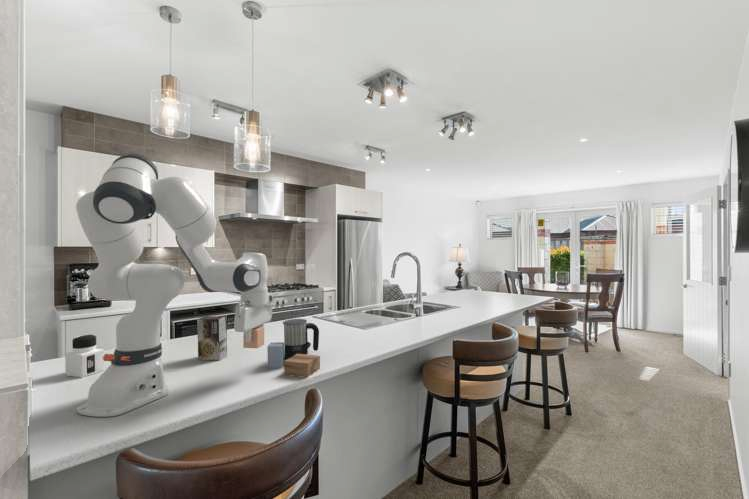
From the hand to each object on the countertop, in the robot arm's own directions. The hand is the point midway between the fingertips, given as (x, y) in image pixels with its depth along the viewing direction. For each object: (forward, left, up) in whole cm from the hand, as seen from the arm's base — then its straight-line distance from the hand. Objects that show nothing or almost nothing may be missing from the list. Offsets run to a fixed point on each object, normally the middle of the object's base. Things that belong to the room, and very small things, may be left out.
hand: (254, 339), depth 126 cm
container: (-10, +59, -12) cm, 61 cm away
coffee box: (+14, +26, -12) cm, 32 cm away
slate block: (+10, -3, -12) cm, 16 cm away
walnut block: (+6, -15, -13) cm, 20 cm away
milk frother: (+24, -6, -12) cm, 27 cm away
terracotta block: (0, 0, -2) cm, 2 cm away
